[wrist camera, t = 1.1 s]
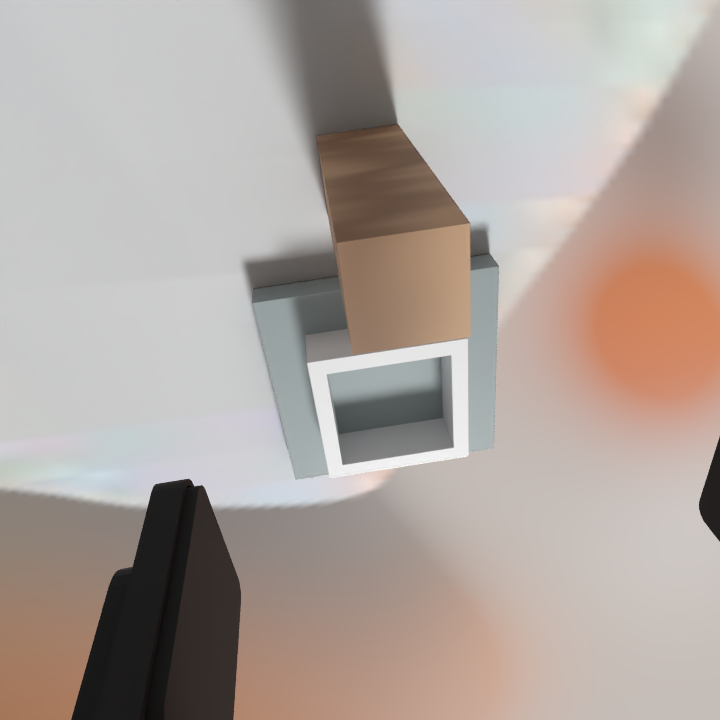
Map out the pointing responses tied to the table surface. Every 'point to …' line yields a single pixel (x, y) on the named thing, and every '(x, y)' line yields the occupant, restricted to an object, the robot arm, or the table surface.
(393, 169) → the rail post
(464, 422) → the bracket
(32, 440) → the table surface
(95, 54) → the table surface
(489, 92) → the table surface
